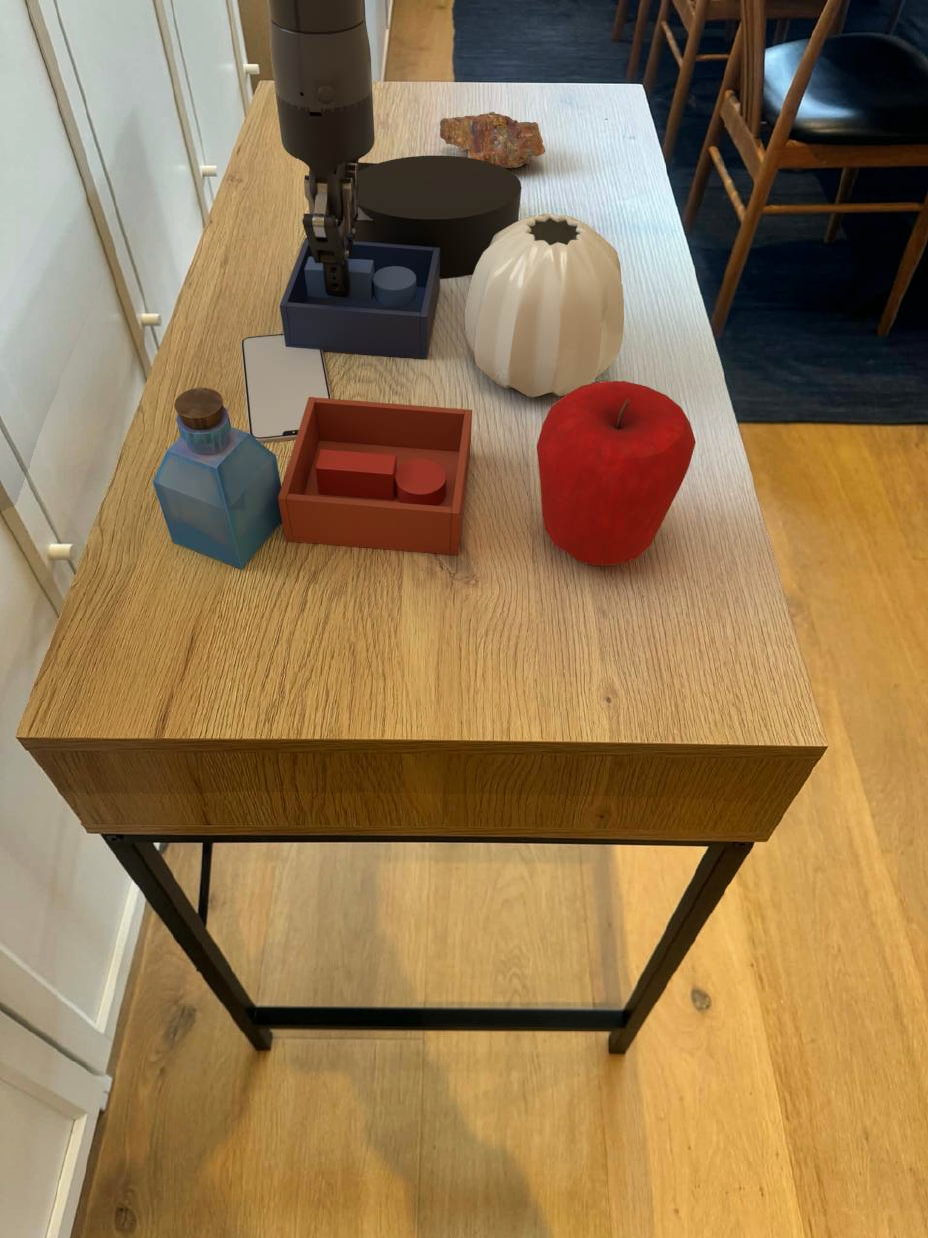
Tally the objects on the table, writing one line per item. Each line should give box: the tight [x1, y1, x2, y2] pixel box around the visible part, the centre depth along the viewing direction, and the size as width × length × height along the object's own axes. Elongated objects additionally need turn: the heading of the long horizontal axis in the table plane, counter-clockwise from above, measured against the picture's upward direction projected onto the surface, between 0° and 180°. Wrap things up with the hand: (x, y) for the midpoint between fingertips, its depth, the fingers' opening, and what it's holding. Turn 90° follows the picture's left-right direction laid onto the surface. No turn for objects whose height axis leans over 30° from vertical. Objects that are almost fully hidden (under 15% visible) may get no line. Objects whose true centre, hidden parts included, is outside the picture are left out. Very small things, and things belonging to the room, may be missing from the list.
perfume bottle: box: [152, 387, 282, 570], centre depth 64 cm, size 6×6×12 cm
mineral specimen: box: [439, 111, 546, 169], centre depth 105 cm, size 12×8×7 cm
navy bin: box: [279, 237, 441, 360], centre depth 84 cm, size 13×12×4 cm
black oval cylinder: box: [350, 154, 522, 279], centre depth 93 cm, size 14×18×8 cm
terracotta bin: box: [278, 397, 473, 556], centre depth 69 cm, size 13×12×4 cm
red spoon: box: [315, 449, 446, 506], centre depth 70 cm, size 10×4×3 cm, turn 85°
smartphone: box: [240, 333, 333, 444], centre depth 79 cm, size 7×1×15 cm
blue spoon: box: [304, 257, 417, 307], centre depth 82 cm, size 10×4×3 cm, turn 85°
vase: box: [463, 212, 625, 398], centre depth 77 cm, size 14×14×13 cm
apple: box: [536, 380, 697, 566], centre depth 64 cm, size 10×10×14 cm
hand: (340, 285), depth 83 cm, fingers closed on blue spoon, 2 cm apart
